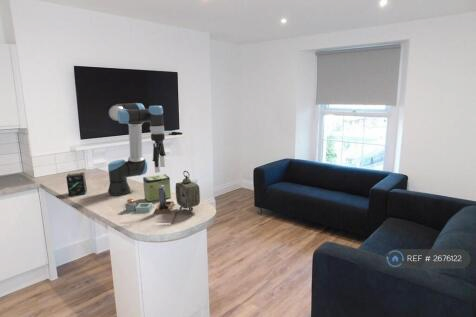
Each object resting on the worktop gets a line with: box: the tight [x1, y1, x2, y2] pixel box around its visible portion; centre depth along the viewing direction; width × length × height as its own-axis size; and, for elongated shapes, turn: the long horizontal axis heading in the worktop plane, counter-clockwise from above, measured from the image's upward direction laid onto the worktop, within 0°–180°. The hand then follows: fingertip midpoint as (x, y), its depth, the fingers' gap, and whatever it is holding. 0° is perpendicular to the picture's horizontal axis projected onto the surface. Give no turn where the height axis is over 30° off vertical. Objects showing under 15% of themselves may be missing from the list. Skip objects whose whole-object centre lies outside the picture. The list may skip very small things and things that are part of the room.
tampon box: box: [65, 171, 88, 197], centre depth 229 cm, size 11×9×15 cm
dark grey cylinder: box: [158, 185, 167, 210], centre depth 188 cm, size 4×4×16 cm
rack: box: [153, 200, 176, 215], centre depth 193 cm, size 16×10×3 cm, turn 1°
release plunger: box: [126, 198, 135, 205], centre depth 191 cm, size 4×4×5 cm
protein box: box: [142, 173, 172, 203], centre depth 213 cm, size 10×16×16 cm
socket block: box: [124, 201, 155, 215], centre depth 192 cm, size 12×15×5 cm
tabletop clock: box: [175, 170, 201, 215], centre depth 190 cm, size 14×9×25 cm, turn 37°
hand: (160, 169), depth 184 cm, fingers open, 13 cm apart
